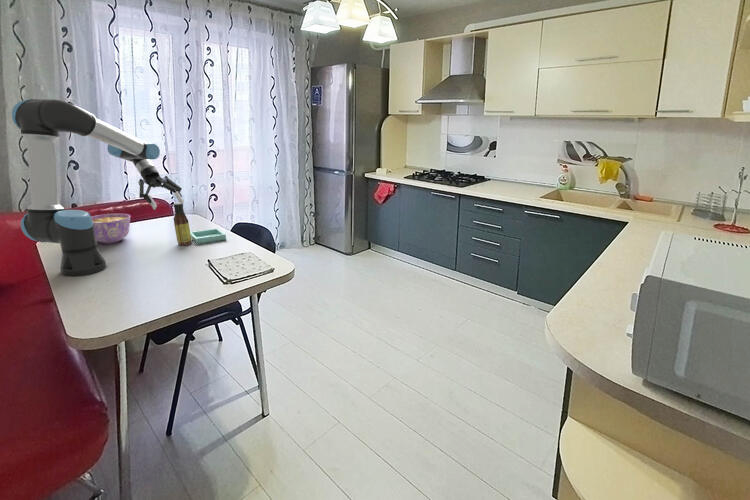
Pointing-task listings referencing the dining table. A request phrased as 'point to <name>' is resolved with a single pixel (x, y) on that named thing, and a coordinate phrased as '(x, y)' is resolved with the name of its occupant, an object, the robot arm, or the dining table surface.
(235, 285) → the dining table surface
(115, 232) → the bowl of food
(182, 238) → the sauce bottle
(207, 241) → the tray
